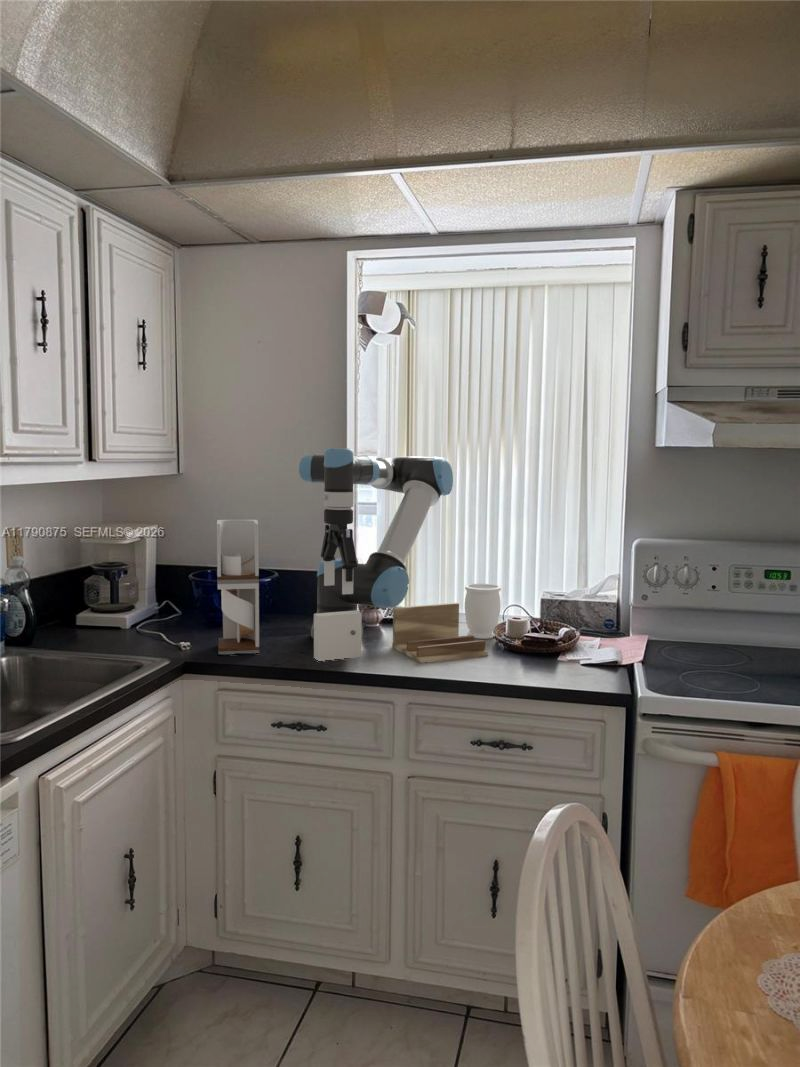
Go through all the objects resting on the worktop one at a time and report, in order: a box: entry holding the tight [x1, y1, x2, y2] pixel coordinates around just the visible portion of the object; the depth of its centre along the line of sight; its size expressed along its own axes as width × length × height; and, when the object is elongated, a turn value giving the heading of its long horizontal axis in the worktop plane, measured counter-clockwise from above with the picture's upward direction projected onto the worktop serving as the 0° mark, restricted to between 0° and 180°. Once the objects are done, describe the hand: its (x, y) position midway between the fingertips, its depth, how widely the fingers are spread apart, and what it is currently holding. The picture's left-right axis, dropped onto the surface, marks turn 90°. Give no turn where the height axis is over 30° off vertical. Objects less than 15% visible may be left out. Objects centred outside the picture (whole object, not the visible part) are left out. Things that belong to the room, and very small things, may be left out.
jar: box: [464, 583, 502, 640], centre depth 235 cm, size 11×10×15 cm
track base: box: [391, 602, 489, 664], centre depth 217 cm, size 18×20×11 cm
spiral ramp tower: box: [216, 519, 260, 654], centre depth 215 cm, size 11×11×35 cm
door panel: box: [313, 609, 363, 662], centre depth 209 cm, size 4×12×12 cm, turn 115°
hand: (338, 589), depth 208 cm, fingers open, 13 cm apart
